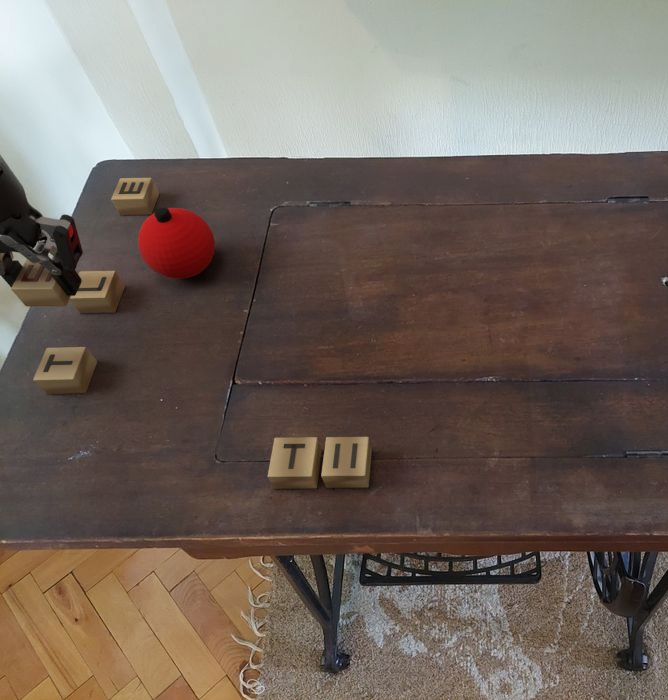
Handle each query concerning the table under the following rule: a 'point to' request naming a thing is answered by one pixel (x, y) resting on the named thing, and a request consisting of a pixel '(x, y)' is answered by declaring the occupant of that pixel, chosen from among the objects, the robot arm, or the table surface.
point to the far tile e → (135, 196)
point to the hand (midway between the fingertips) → (51, 289)
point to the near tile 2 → (295, 463)
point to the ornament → (176, 243)
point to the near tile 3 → (346, 462)
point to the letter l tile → (98, 292)
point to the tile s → (38, 287)
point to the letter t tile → (65, 370)
